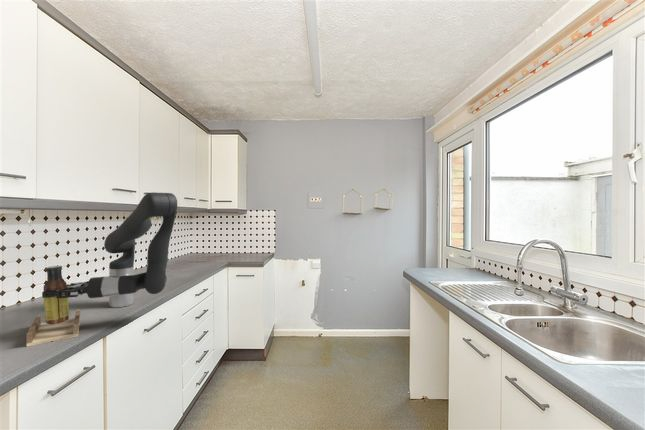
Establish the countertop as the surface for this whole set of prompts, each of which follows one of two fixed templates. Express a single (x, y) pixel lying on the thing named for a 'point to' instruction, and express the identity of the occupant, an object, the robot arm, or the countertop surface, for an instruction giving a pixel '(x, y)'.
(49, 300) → the sauce bottle
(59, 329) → the track
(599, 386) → the countertop surface
